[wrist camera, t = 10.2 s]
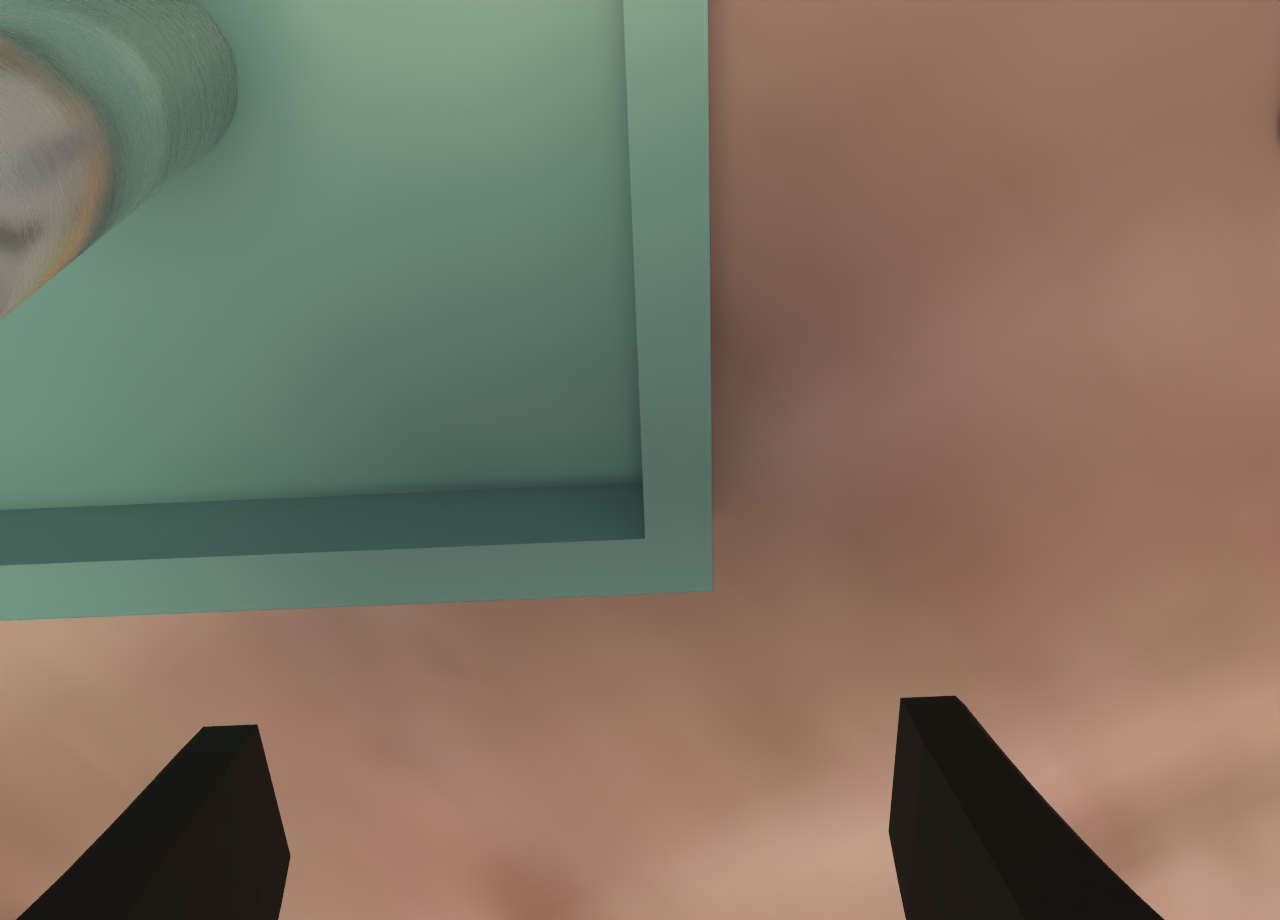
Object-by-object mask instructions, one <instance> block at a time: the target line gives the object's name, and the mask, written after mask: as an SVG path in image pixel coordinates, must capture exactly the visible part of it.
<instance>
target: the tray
mask: <svg viewBox="0 0 1280 920" xmlns="http://www.w3.org/2000/svg"><path fill="white" fill-rule="evenodd" d="M14 1H18V0H0V6H1V5H5V4H8V3H11V2H14ZM196 1H197V2H198V3H199V4H200V5H201V6H203V8H204V9H205V10H206V11H207V12H208V13H209V14H210V15H211V16H212V18H213V19H214V20H215V22H216V23H217V25H218V26H219V27H220V29H221V31H222V32H223V34H224V36H225V38H226V39H227V42H228V44H229V46H230V49H231V51H232V54H233V57H234V61H235V64H236V70H237V75H238V99H237V105H236V109H235V113H234V116H233V118H232V121H231V123H230V125H229V127H228V129H227V130H226V132H225V134H224V135H223V136H222V138H221V139H220V140H219V141H218V142H217V143H216V144H215V145H214V146H213V147H212V148H211V149H210V150H208V151H207V152H206V153H205V154H204V155H202V156H201V157H200V158H199V159H197V160H196V161H195V162H194V163H193V164H191V165H190V166H189V167H188V168H186V169H185V170H184V171H183V172H181V173H180V174H179V175H178V176H177V177H175V178H174V179H173V180H172V181H170V182H169V183H168V184H167V185H166V186H164V187H163V188H162V189H161V190H159V191H158V192H157V193H156V194H154V195H153V196H152V197H151V198H150V199H148V200H147V201H146V202H145V203H143V204H142V205H141V206H140V207H139V208H137V209H136V210H135V211H134V212H132V213H131V214H130V215H129V216H128V217H126V218H125V219H124V220H123V221H121V222H120V223H119V224H118V225H116V226H115V227H114V228H113V229H112V230H110V231H109V232H108V233H107V234H105V235H104V236H103V237H102V238H101V239H99V240H98V241H97V242H96V243H94V244H93V245H92V246H91V247H89V248H88V249H87V250H86V251H85V252H83V253H82V254H81V255H80V256H78V257H77V258H76V259H75V260H74V261H72V262H71V263H70V264H69V265H67V266H66V267H65V268H64V269H63V270H61V271H60V272H59V273H58V274H56V275H55V276H54V277H53V278H51V279H50V280H49V281H48V282H47V283H45V284H44V285H43V286H42V287H40V288H39V289H38V290H37V291H36V292H34V293H33V294H32V295H31V296H29V297H28V298H27V299H26V300H24V301H23V302H22V303H21V304H20V305H18V306H17V307H16V308H15V309H13V310H12V311H11V312H10V313H9V314H7V315H6V316H5V317H4V318H2V319H1V320H0V621H10V620H34V619H58V618H82V617H106V616H130V615H155V614H179V613H203V612H227V611H251V610H275V609H299V608H324V607H348V606H372V605H396V604H420V603H444V602H468V601H493V600H517V599H541V598H565V597H589V596H613V595H638V594H662V593H686V592H710V591H713V552H712V436H711V321H710V205H709V89H708V0H196Z"/></svg>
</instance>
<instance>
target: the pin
mask: <svg viewBox="0 0 1280 920" xmlns="http://www.w3.org/2000/svg"><path fill="white" fill-rule="evenodd" d="M237 99H238V75H237V70H236V64H235V61H234V57H233V54H232V51H231V49H230V46H229V44H228V42H227V39H226V38H225V36H224V34H223V32H222V31H221V29H220V27H219V26H218V25H217V23H216V22H215V20H214V19H213V18H212V16H211V15H210V14H209V13H208V12H207V11H206V10H205V9H204V8H203V6H201V5H200V4H199V3H198V2H197V1H196V0H18V1H14V2H11V3H8V4H5V5H1V6H0V320H1V319H2V318H4V317H5V316H6V315H7V314H9V313H10V312H11V311H12V310H13V309H15V308H16V307H17V306H18V305H20V304H21V303H22V302H23V301H24V300H26V299H27V298H28V297H29V296H31V295H32V294H33V293H34V292H36V291H37V290H38V289H39V288H40V287H42V286H43V285H44V284H45V283H47V282H48V281H49V280H50V279H51V278H53V277H54V276H55V275H56V274H58V273H59V272H60V271H61V270H63V269H64V268H65V267H66V266H67V265H69V264H70V263H71V262H72V261H74V260H75V259H76V258H77V257H78V256H80V255H81V254H82V253H83V252H85V251H86V250H87V249H88V248H89V247H91V246H92V245H93V244H94V243H96V242H97V241H98V240H99V239H101V238H102V237H103V236H104V235H105V234H107V233H108V232H109V231H110V230H112V229H113V228H114V227H115V226H116V225H118V224H119V223H120V222H121V221H123V220H124V219H125V218H126V217H128V216H129V215H130V214H131V213H132V212H134V211H135V210H136V209H137V208H139V207H140V206H141V205H142V204H143V203H145V202H146V201H147V200H148V199H150V198H151V197H152V196H153V195H154V194H156V193H157V192H158V191H159V190H161V189H162V188H163V187H164V186H166V185H167V184H168V183H169V182H170V181H172V180H173V179H174V178H175V177H177V176H178V175H179V174H180V173H181V172H183V171H184V170H185V169H186V168H188V167H189V166H190V165H191V164H193V163H194V162H195V161H196V160H197V159H199V158H200V157H201V156H202V155H204V154H205V153H206V152H207V151H208V150H210V149H211V148H212V147H213V146H214V145H215V144H216V143H217V142H218V141H219V140H220V139H221V138H222V136H223V135H224V134H225V132H226V130H227V129H228V127H229V125H230V123H231V121H232V118H233V116H234V113H235V109H236V105H237Z"/></svg>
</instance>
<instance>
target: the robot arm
mask: <svg viewBox="0 0 1280 920" xmlns="http://www.w3.org/2000/svg"><path fill="white" fill-rule="evenodd" d="M889 836H890V841H891V846H892V852H893V857H894V862H895V867H896V873H897V878H898V883H899V888H900V893H901V898H902V902H903V907H904V912H905V917H906V920H1164V919H1163V918H1162V917H1161V916H1160V915H1159V914H1158V913H1156V912H1155V911H1154V910H1153V909H1152V908H1151V907H1150V906H1149V905H1148V904H1147V903H1146V902H1145V901H1143V900H1142V899H1141V898H1140V897H1139V896H1138V895H1137V894H1136V893H1135V892H1134V891H1133V890H1132V889H1131V888H1130V887H1129V886H1128V885H1127V884H1126V883H1125V882H1124V881H1123V880H1122V879H1121V878H1120V877H1119V876H1118V875H1117V874H1115V873H1114V872H1113V871H1112V870H1111V869H1110V868H1109V867H1108V866H1107V865H1106V864H1105V863H1104V862H1103V861H1102V860H1101V859H1100V858H1099V857H1098V856H1097V855H1096V854H1095V853H1094V852H1093V850H1092V849H1091V848H1090V847H1089V846H1088V845H1087V844H1086V843H1085V842H1084V841H1083V840H1082V839H1081V838H1080V837H1079V836H1078V835H1077V834H1076V833H1075V832H1074V831H1073V829H1072V828H1071V827H1070V826H1069V825H1068V824H1067V823H1066V822H1065V821H1064V820H1063V819H1062V818H1061V817H1060V816H1059V814H1058V813H1057V812H1056V811H1055V810H1054V809H1053V808H1052V807H1051V806H1050V805H1049V804H1048V803H1047V802H1046V800H1045V799H1044V798H1043V797H1042V796H1041V795H1040V794H1039V793H1038V791H1037V790H1036V789H1035V788H1034V787H1033V786H1032V785H1031V784H1030V782H1029V781H1028V780H1027V779H1026V778H1025V777H1024V776H1023V774H1022V773H1021V772H1020V771H1019V770H1018V769H1017V767H1016V766H1015V765H1014V764H1013V763H1012V762H1011V760H1010V759H1009V758H1008V757H1007V756H1006V755H1005V753H1004V752H1003V751H1002V750H1001V749H1000V747H999V746H998V745H997V744H996V743H995V741H994V740H993V739H992V738H991V737H990V735H989V734H988V733H987V732H986V730H985V729H984V728H983V727H982V726H981V724H980V723H979V722H978V721H977V719H976V718H975V717H974V716H973V714H972V713H971V712H970V711H969V710H968V708H967V707H966V706H965V705H964V703H962V702H961V701H960V700H959V699H958V698H957V697H956V696H937V697H912V698H901V699H900V710H899V721H898V733H897V744H896V755H895V766H894V777H893V789H892V800H891V811H890V822H889ZM289 861H290V852H289V848H288V844H287V840H286V836H285V832H284V828H283V824H282V820H281V816H280V812H279V809H278V805H277V801H276V797H275V793H274V789H273V785H272V781H271V777H270V773H269V769H268V765H267V761H266V757H265V753H264V749H263V745H262V741H261V737H260V733H259V729H258V725H235V726H211V727H203V728H202V729H201V730H200V731H199V732H198V733H197V734H196V735H195V736H194V737H193V738H192V739H191V740H190V741H189V742H188V743H187V744H186V745H185V746H184V747H183V748H182V749H181V751H180V752H179V753H178V754H177V755H176V756H175V757H174V758H173V759H172V760H171V761H170V762H169V763H168V764H167V766H166V767H165V768H164V769H163V770H162V771H161V772H160V773H159V774H158V775H157V776H156V777H155V778H154V780H153V781H152V782H151V783H150V784H149V785H148V786H147V787H146V788H145V789H144V790H143V791H142V793H141V794H140V795H139V796H138V797H137V798H136V799H135V800H134V801H133V802H132V803H131V804H130V805H129V806H128V808H127V809H126V810H125V811H124V812H123V813H122V814H121V815H120V816H119V817H118V818H117V819H116V820H115V821H114V823H113V824H112V825H111V826H110V827H109V828H108V829H107V830H106V831H105V832H104V833H103V834H102V835H101V836H100V837H99V838H98V839H97V840H96V841H95V842H94V843H93V844H92V845H91V846H90V847H89V848H88V849H87V850H86V851H85V852H84V854H83V855H82V856H81V857H80V858H79V859H78V860H77V861H76V862H75V863H74V864H73V865H72V866H71V867H70V868H69V869H68V870H67V871H66V872H65V873H64V874H63V875H62V876H61V877H60V878H59V879H58V880H57V881H56V882H55V883H54V884H53V885H52V886H51V887H50V888H49V889H48V890H47V891H46V892H45V893H44V894H42V895H41V896H40V897H39V898H38V899H37V900H36V901H35V902H34V903H33V904H32V905H31V906H30V907H29V908H28V909H27V910H26V911H25V912H24V913H23V914H22V915H20V916H19V917H18V918H17V919H16V920H278V918H279V913H280V908H281V904H282V898H283V893H284V888H285V882H286V877H287V872H288V866H289Z"/></svg>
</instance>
